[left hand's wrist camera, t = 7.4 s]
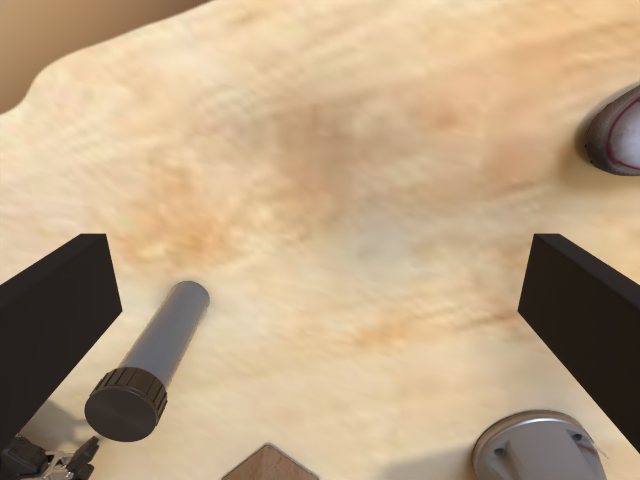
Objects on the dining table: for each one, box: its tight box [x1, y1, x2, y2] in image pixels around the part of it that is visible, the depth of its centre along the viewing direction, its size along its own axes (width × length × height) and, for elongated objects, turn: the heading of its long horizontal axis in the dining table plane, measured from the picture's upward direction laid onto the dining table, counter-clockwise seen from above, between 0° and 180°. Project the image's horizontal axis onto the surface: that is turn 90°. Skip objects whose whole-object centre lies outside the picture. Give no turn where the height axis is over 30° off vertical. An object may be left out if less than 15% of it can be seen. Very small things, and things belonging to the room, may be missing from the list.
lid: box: [85, 367, 167, 442], centre depth 30 cm, size 5×5×2 cm
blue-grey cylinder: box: [117, 281, 209, 391], centre depth 37 cm, size 4×4×16 cm
